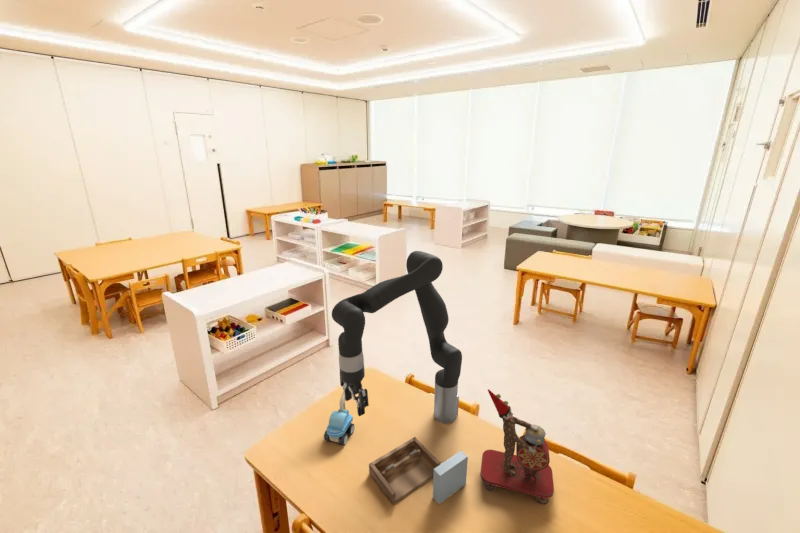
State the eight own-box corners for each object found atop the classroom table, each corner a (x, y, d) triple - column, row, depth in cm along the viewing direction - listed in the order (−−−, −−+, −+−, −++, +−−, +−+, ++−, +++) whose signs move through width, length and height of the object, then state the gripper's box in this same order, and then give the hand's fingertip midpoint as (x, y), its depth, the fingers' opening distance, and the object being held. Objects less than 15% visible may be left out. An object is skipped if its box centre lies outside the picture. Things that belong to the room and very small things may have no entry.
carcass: (414, 446, 135) (414, 435, 134) (439, 472, 125) (440, 461, 123) (369, 473, 124) (368, 462, 123) (392, 505, 114) (392, 493, 112)
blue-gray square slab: (459, 477, 123) (461, 450, 119) (465, 484, 120) (467, 456, 116) (432, 497, 116) (433, 469, 112) (439, 504, 114) (440, 475, 110)
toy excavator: (362, 418, 149) (360, 384, 143) (343, 449, 134) (340, 412, 129) (343, 413, 152) (341, 379, 146) (323, 443, 137) (319, 407, 131)
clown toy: (552, 509, 112) (569, 419, 100) (478, 490, 118) (486, 403, 107) (549, 474, 124) (564, 389, 112) (482, 458, 130) (489, 376, 118)
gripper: (374, 370, 107) (376, 414, 112) (351, 349, 118) (354, 390, 123) (351, 380, 103) (355, 425, 108) (330, 357, 114) (334, 399, 119)
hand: (354, 406), depth 116 cm, fingers open, 8 cm apart
